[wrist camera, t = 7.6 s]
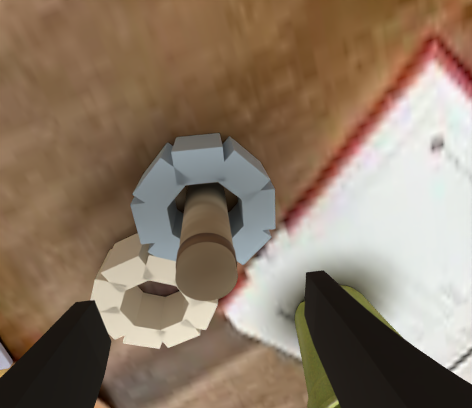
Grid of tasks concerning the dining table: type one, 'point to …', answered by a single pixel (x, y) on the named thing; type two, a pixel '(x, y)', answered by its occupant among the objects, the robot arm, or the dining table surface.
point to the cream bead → (145, 299)
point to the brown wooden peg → (206, 245)
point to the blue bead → (198, 172)
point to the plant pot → (318, 385)
